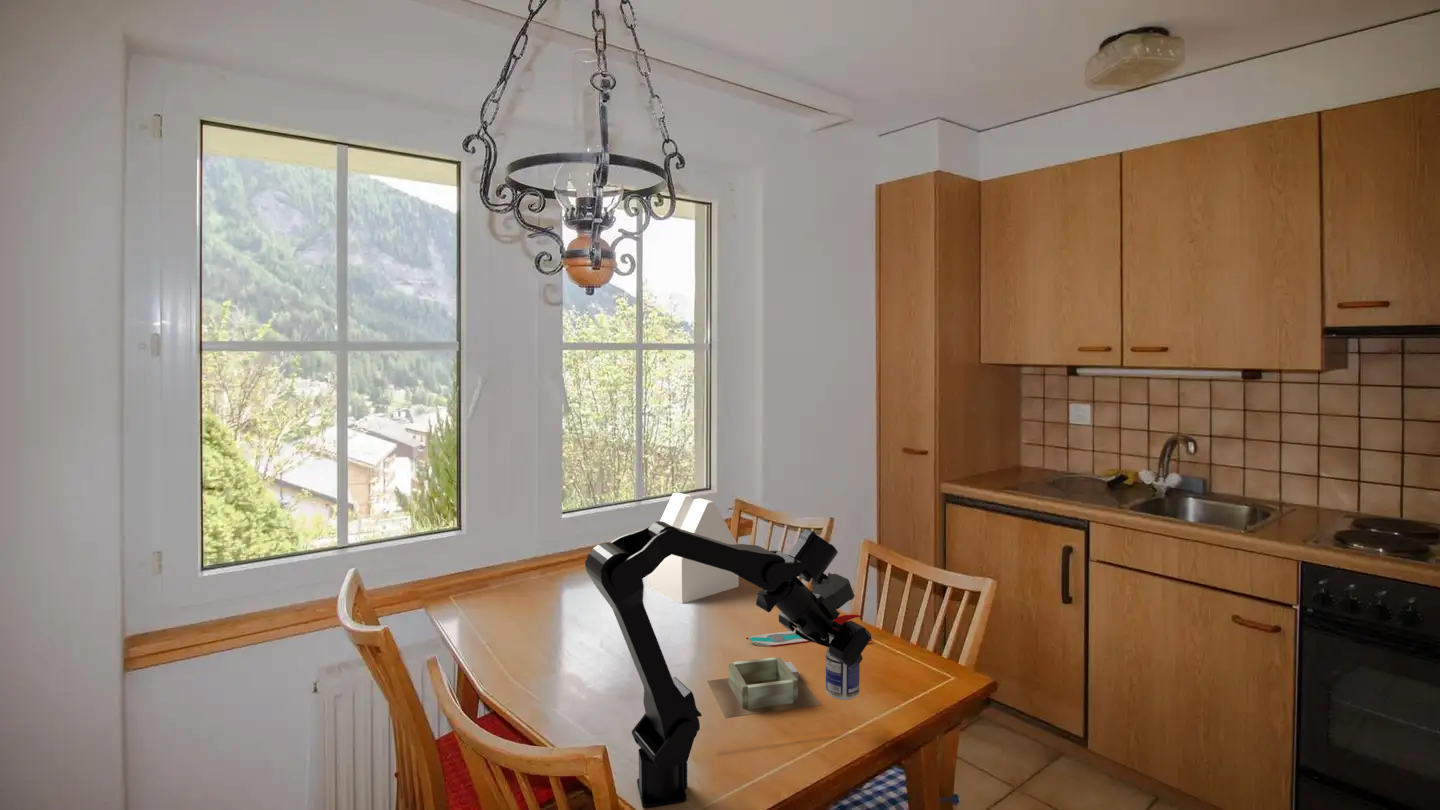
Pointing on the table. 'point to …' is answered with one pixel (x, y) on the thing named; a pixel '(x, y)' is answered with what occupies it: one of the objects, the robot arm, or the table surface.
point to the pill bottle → (841, 678)
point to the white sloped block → (689, 576)
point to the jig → (760, 688)
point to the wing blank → (792, 669)
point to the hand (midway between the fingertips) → (849, 653)
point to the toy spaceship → (789, 635)
